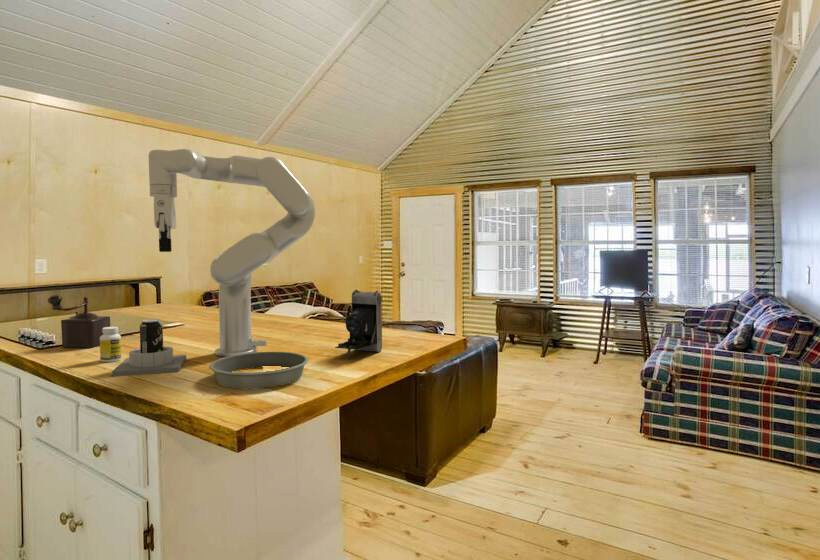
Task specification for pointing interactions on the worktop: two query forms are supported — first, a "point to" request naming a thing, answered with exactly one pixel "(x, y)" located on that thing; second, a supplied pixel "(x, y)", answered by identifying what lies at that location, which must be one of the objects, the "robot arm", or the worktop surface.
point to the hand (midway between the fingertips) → (165, 251)
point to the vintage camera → (364, 323)
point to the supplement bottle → (110, 345)
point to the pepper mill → (80, 325)
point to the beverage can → (151, 336)
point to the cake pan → (258, 359)
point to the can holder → (150, 362)
